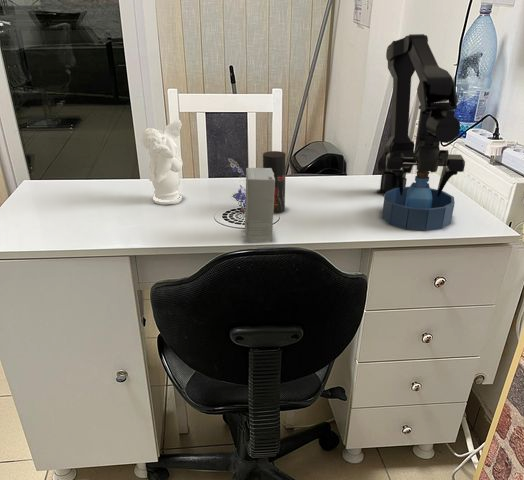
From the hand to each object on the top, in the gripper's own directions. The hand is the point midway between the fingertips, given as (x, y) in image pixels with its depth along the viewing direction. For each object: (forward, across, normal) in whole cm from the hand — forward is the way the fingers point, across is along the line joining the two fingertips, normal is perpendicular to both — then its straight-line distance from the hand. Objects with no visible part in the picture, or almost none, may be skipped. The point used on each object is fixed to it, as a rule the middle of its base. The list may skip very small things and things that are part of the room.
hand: (419, 195), depth 140 cm
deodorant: (+6, -38, +1) cm, 39 cm away
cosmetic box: (+6, -39, -18) cm, 43 cm away
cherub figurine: (+6, -71, +7) cm, 71 cm away
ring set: (+6, -49, +10) cm, 51 cm away
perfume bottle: (+6, 0, 0) cm, 6 cm away
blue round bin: (+6, 0, 0) cm, 6 cm away
